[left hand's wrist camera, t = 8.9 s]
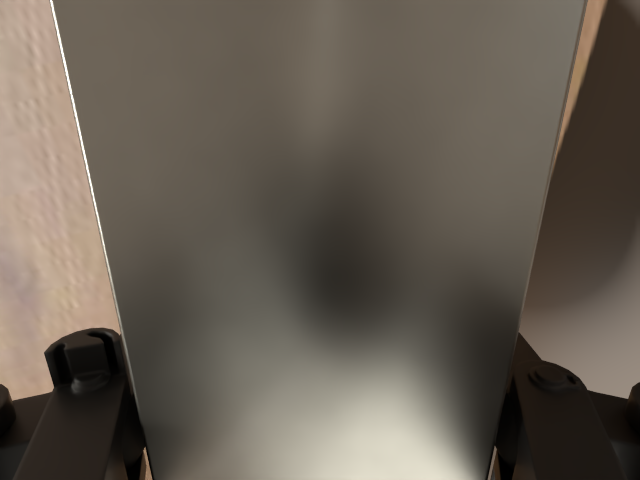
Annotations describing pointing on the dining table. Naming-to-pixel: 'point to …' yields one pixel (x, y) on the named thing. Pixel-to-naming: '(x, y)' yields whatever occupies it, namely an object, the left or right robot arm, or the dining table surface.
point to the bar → (319, 221)
